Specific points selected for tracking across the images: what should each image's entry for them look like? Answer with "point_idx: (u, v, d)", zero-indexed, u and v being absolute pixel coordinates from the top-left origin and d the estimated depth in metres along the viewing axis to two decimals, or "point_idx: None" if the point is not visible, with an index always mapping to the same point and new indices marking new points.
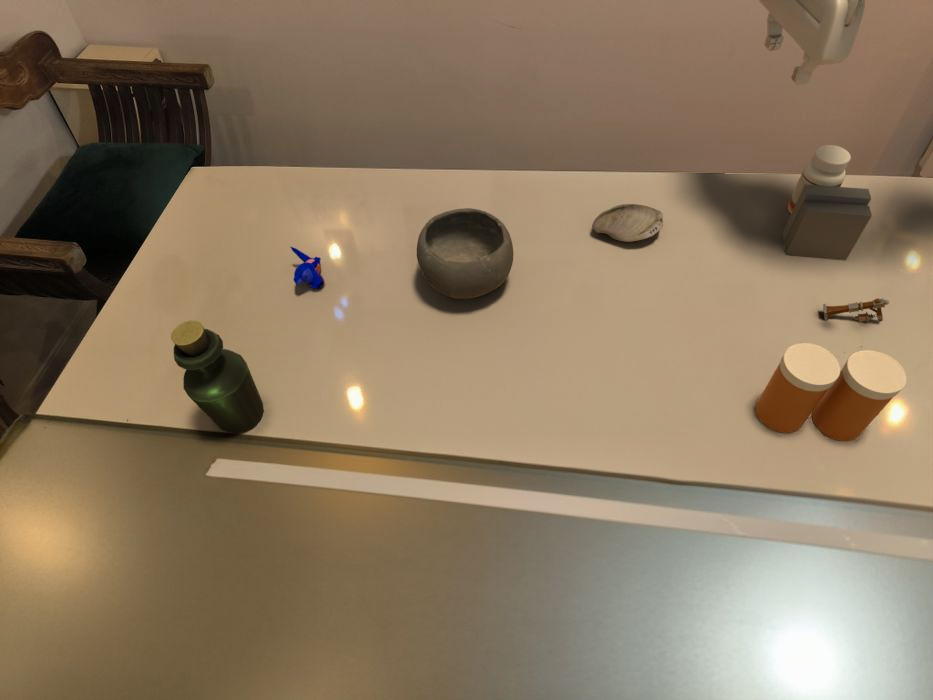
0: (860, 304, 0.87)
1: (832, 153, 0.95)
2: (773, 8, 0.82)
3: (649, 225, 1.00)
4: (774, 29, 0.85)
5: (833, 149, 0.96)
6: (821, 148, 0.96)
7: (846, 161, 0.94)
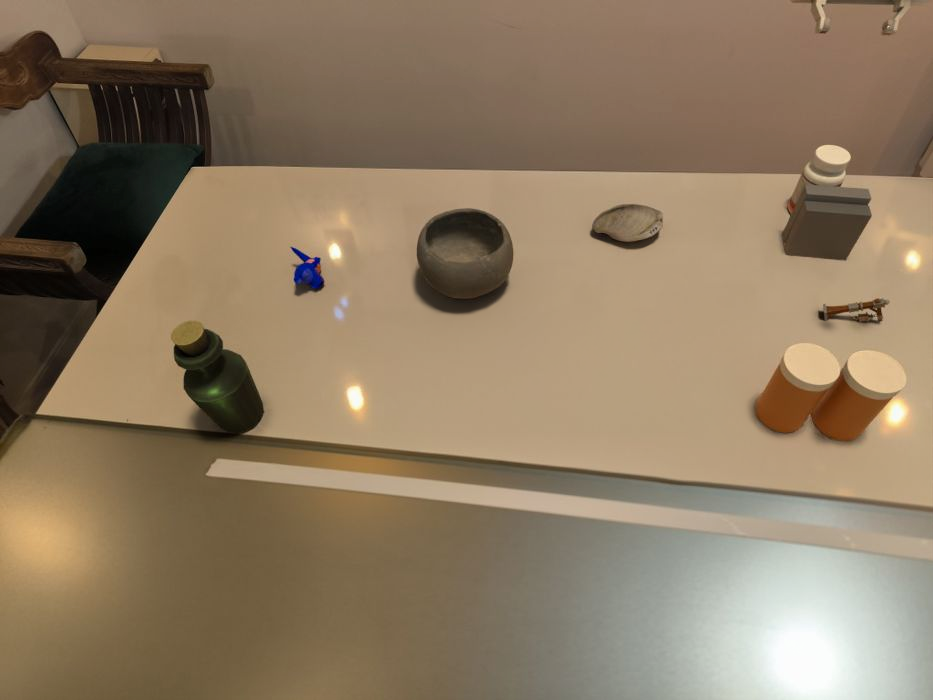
0: (860, 304, 0.87)
1: (832, 153, 0.95)
2: None
3: (649, 225, 1.00)
4: (894, 17, 0.91)
5: (833, 149, 0.96)
6: (821, 148, 0.96)
7: (846, 161, 0.94)
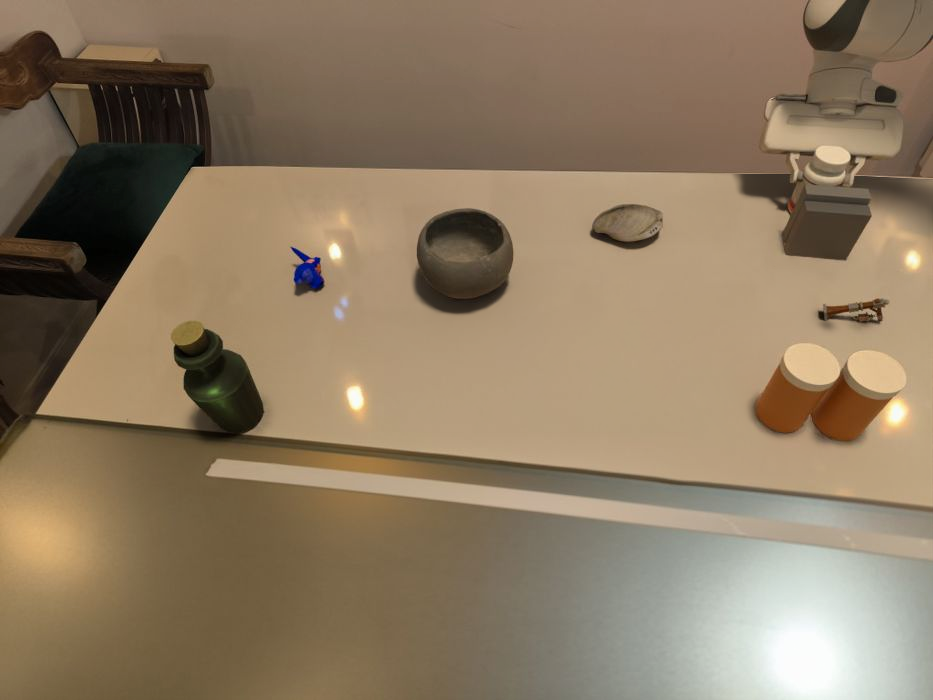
0: (860, 304, 0.87)
1: (832, 153, 0.95)
2: None
3: (649, 225, 1.00)
4: (850, 171, 0.98)
5: (833, 149, 0.96)
6: (821, 148, 0.96)
7: (846, 161, 0.94)
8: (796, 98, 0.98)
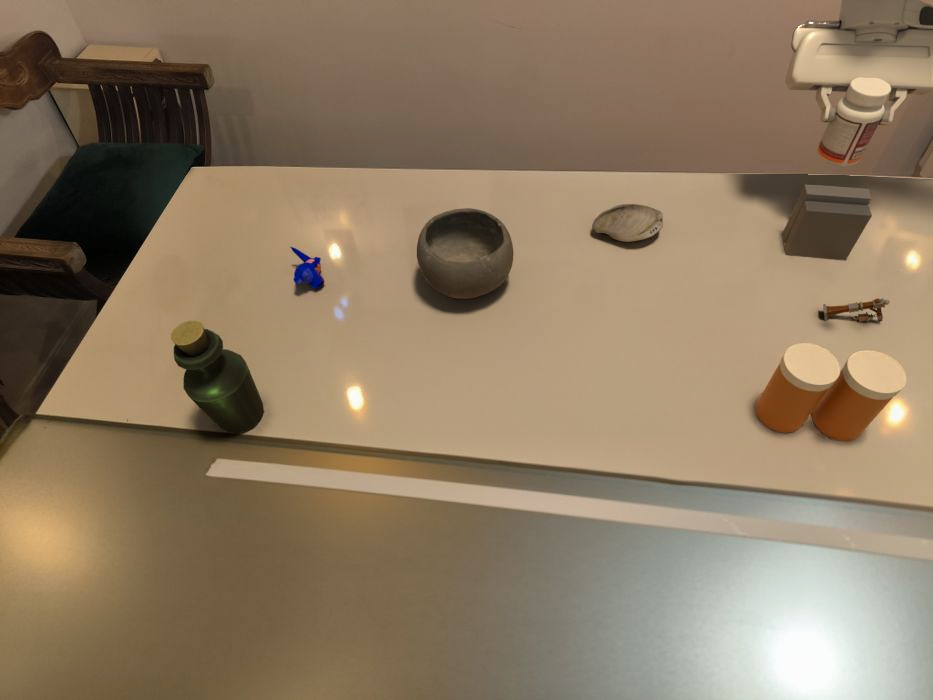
0: (860, 304, 0.87)
1: (869, 85, 0.84)
2: None
3: (649, 225, 1.00)
4: (889, 107, 0.87)
5: (870, 81, 0.85)
6: (857, 80, 0.85)
7: (886, 93, 0.83)
8: (828, 25, 0.87)
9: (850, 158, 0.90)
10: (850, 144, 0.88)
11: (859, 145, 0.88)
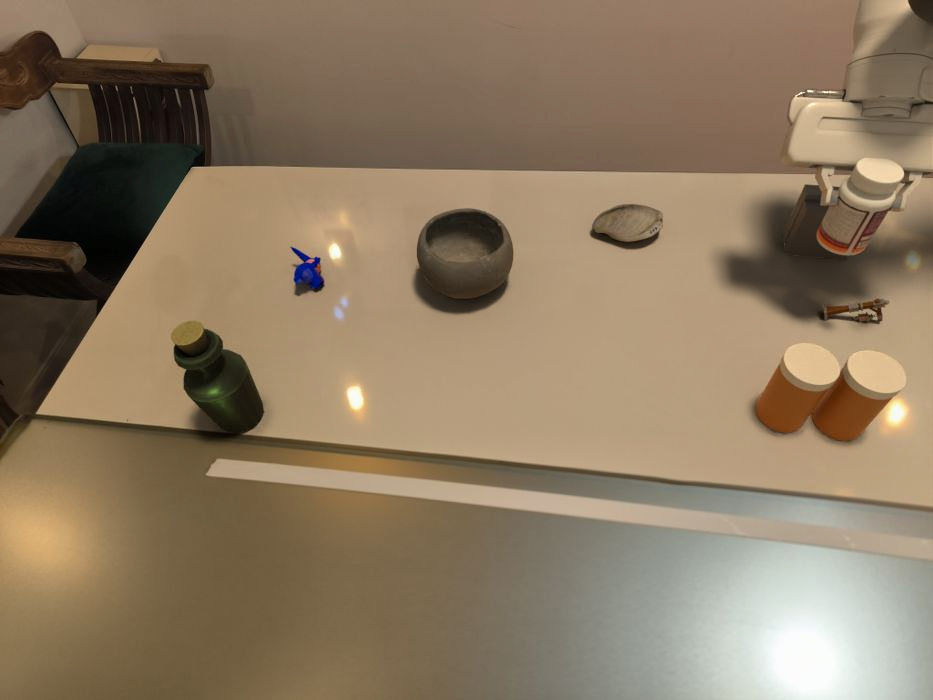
0: (860, 304, 0.87)
1: (879, 168, 0.72)
2: None
3: (649, 225, 1.00)
4: (901, 191, 0.74)
5: (880, 162, 0.72)
6: (864, 161, 0.73)
7: (898, 179, 0.70)
8: (830, 94, 0.74)
9: (855, 247, 0.77)
10: (855, 233, 0.76)
11: (866, 234, 0.75)
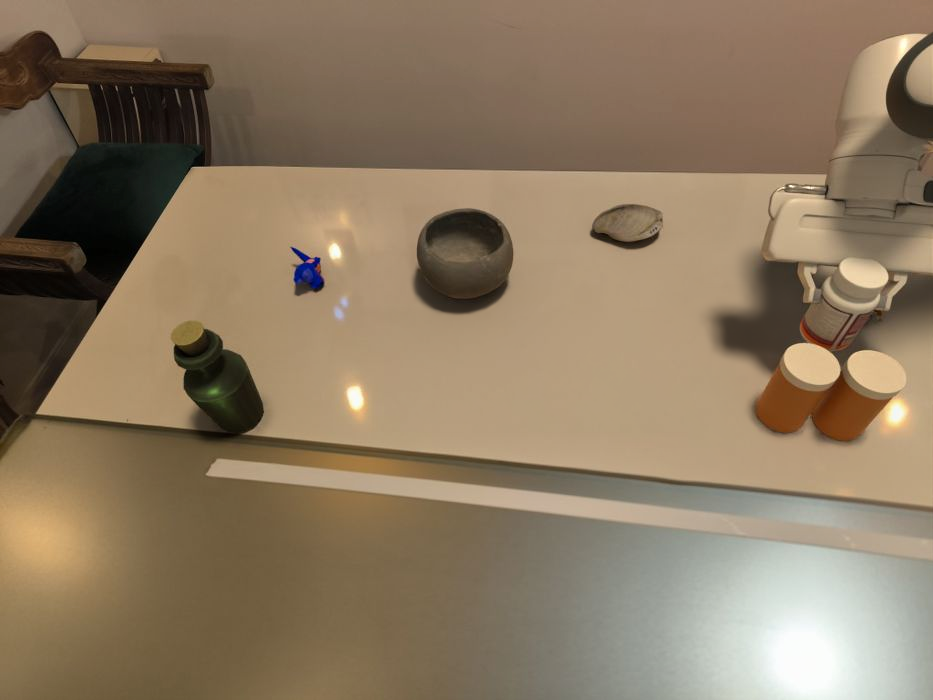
0: None
1: (862, 270, 0.69)
2: None
3: (649, 225, 1.00)
4: (886, 289, 0.72)
5: (864, 263, 0.70)
6: (847, 261, 0.70)
7: (883, 283, 0.68)
8: (812, 190, 0.71)
9: (839, 344, 0.75)
10: (839, 332, 0.73)
11: (850, 333, 0.73)
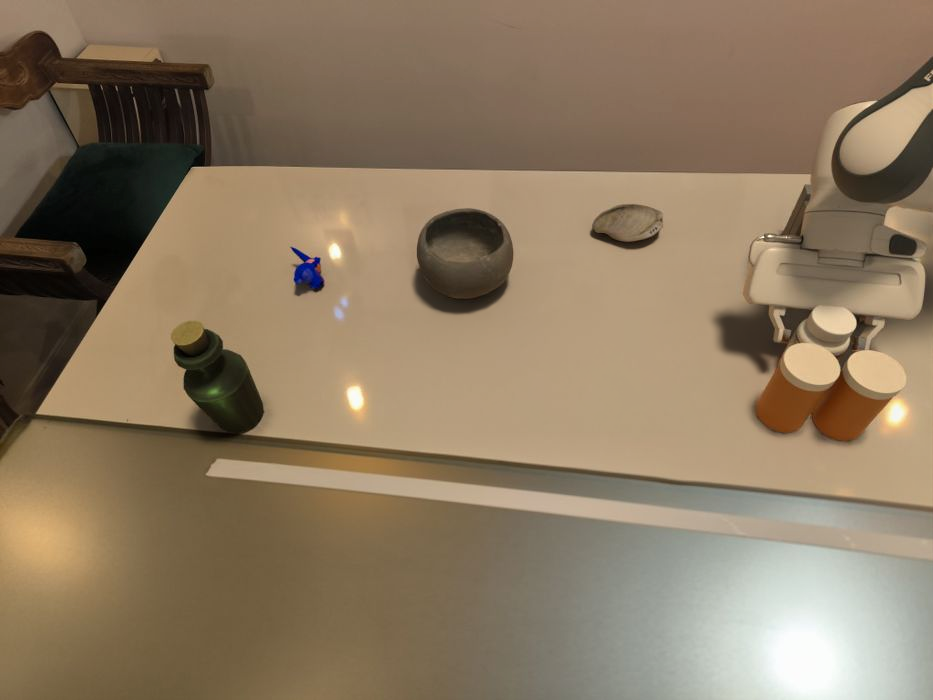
0: None
1: (833, 316, 0.75)
2: None
3: (649, 225, 1.00)
4: (865, 332, 0.78)
5: (834, 310, 0.76)
6: (819, 308, 0.76)
7: (851, 330, 0.74)
8: (789, 240, 0.78)
9: None
10: None
11: None
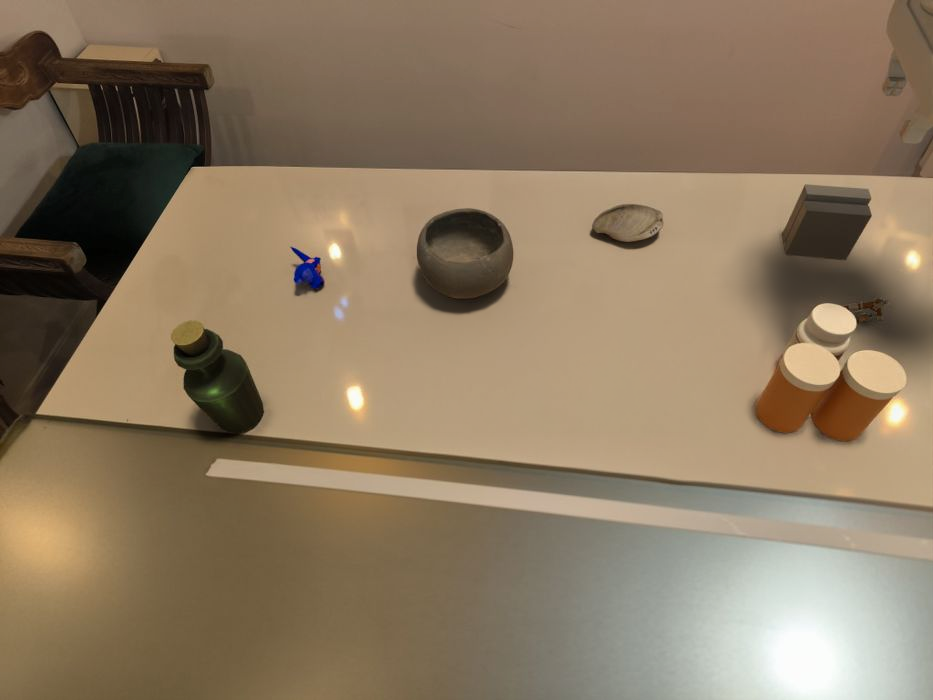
0: (860, 304, 0.87)
1: (833, 316, 0.75)
2: (897, 43, 0.65)
3: (649, 225, 1.00)
4: (897, 70, 0.68)
5: (834, 310, 0.76)
6: (819, 308, 0.76)
7: (851, 330, 0.74)
8: None
9: None
10: None
11: None
